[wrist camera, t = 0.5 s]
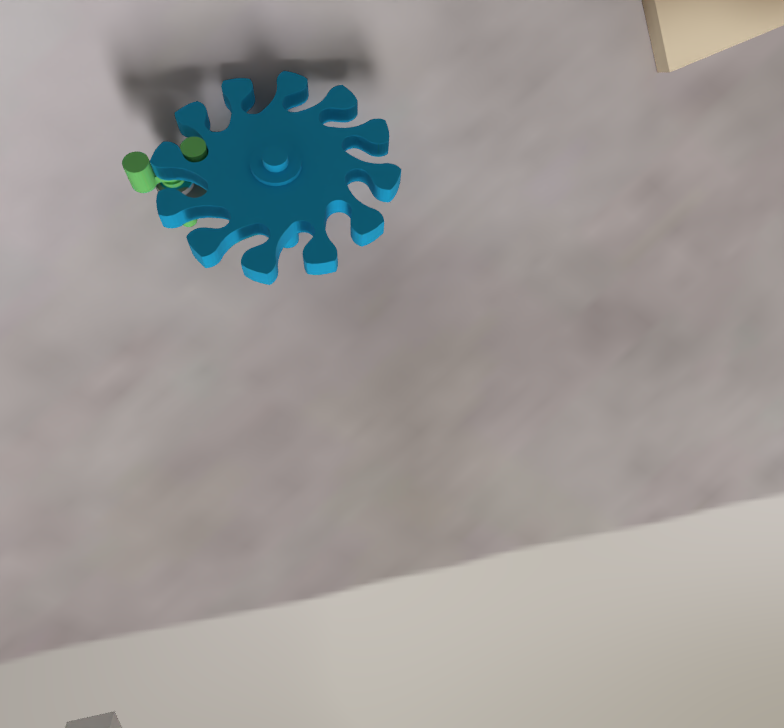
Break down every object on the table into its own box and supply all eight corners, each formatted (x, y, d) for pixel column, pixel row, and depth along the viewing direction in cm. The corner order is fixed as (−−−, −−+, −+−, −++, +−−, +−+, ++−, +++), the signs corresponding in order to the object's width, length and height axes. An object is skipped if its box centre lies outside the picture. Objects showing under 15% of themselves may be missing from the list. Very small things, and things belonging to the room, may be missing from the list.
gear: (410, 72, 30) (390, 277, 26) (402, 164, 36) (384, 345, 32) (149, 46, 30) (88, 247, 26) (181, 142, 36) (134, 321, 32)
